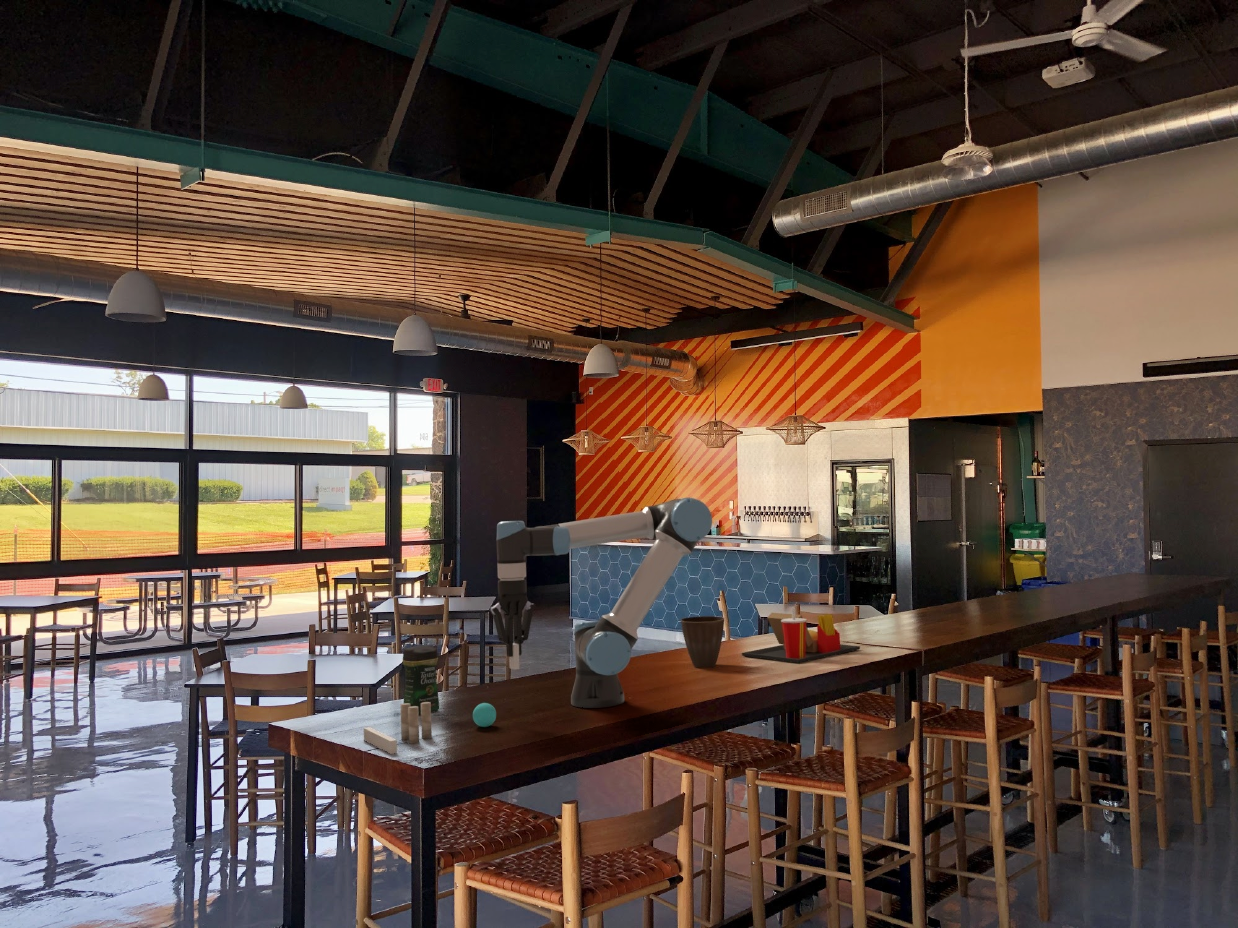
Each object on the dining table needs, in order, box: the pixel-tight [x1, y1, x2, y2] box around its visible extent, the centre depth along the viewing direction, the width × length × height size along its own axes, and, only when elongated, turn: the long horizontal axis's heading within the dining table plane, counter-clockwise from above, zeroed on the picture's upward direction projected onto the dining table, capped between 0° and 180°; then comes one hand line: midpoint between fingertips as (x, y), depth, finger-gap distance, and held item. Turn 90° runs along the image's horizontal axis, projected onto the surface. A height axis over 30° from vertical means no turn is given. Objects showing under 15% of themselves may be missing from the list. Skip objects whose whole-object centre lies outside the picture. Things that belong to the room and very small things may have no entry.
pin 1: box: [399, 702, 410, 741], centre depth 229 cm, size 2×2×8 cm
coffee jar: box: [402, 644, 440, 716], centre depth 260 cm, size 10×8×19 cm
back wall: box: [363, 726, 398, 755], centre depth 223 cm, size 2×18×3 cm, turn 35°
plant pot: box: [680, 615, 725, 669], centre depth 315 cm, size 15×15×16 cm
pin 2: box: [408, 706, 420, 745], centre depth 225 cm, size 2×2×8 cm
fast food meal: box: [741, 606, 861, 664], centre depth 333 cm, size 26×35×18 cm
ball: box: [472, 702, 497, 728], centre depth 239 cm, size 6×6×6 cm
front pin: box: [420, 702, 433, 740], centre depth 230 cm, size 2×2×8 cm
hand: (514, 668), depth 245 cm, fingers closed
